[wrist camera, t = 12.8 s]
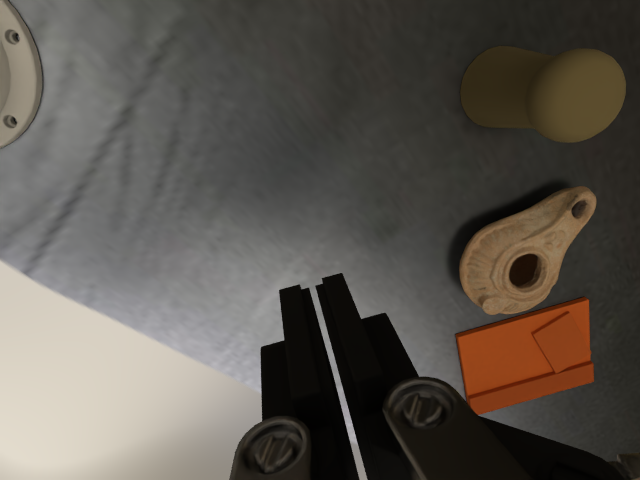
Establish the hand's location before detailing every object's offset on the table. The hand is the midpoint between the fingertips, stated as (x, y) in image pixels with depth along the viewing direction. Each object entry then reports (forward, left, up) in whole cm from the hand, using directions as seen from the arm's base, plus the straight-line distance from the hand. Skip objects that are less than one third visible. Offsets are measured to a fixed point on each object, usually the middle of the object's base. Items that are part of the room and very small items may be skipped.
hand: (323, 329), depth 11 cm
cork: (+17, 0, -25) cm, 30 cm away
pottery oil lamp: (+17, -13, -25) cm, 33 cm away
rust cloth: (+17, -26, -25) cm, 40 cm away
